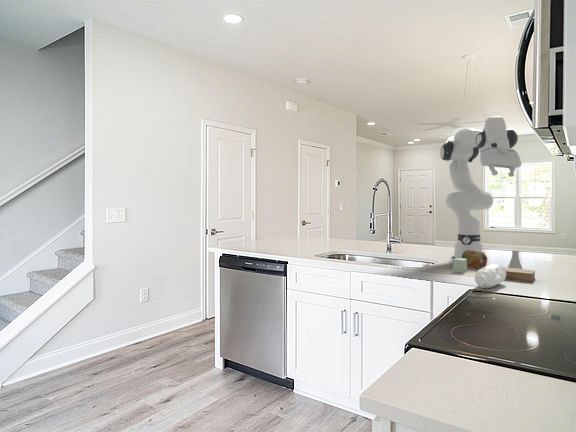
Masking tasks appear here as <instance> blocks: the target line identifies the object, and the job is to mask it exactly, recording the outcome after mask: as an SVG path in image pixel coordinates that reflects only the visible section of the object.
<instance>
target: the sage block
mask: <svg viewBox="0 0 576 432" xmlns="http://www.w3.org/2000/svg"><path fill="white" fill-rule="evenodd" d="M452 261H453V263H452V271H453V273H462V274H463V273H467V272H468V266H467V259H463V258H453V259H452Z"/></svg>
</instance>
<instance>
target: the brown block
mask: <svg viewBox="0 0 576 432" xmlns="http://www.w3.org/2000/svg"><path fill="white" fill-rule="evenodd" d="M502 267H503V266H502ZM503 268H504V270H505V272H506V278H505V279H510V280H509V281H514V280H519V281H518V282H524V281H527V282H526V283H533V282H534V280H535V277H536V273H535V272H536V270H534V269H526V268H525V269H524V268H522V269H516V268H508V267H503Z"/></svg>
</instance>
